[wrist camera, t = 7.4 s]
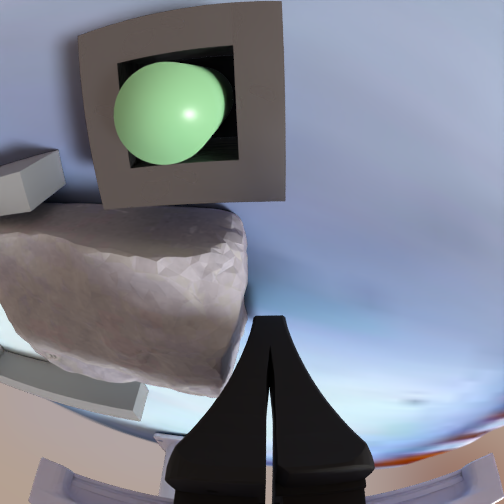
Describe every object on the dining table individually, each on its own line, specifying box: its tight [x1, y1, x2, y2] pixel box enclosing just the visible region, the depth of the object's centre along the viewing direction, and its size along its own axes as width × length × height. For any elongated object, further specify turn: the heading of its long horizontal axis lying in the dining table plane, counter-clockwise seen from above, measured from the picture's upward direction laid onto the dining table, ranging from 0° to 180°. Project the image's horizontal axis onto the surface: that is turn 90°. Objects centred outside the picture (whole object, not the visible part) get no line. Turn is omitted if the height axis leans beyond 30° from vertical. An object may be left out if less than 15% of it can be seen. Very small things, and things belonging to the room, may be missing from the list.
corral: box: [0, 150, 149, 421], centre depth 13 cm, size 16×16×2 cm
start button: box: [114, 62, 234, 165], centre depth 7 cm, size 2×2×4 cm
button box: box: [78, 1, 286, 210], centre depth 8 cm, size 5×5×3 cm
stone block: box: [0, 203, 248, 398], centre depth 12 cm, size 12×5×10 cm
